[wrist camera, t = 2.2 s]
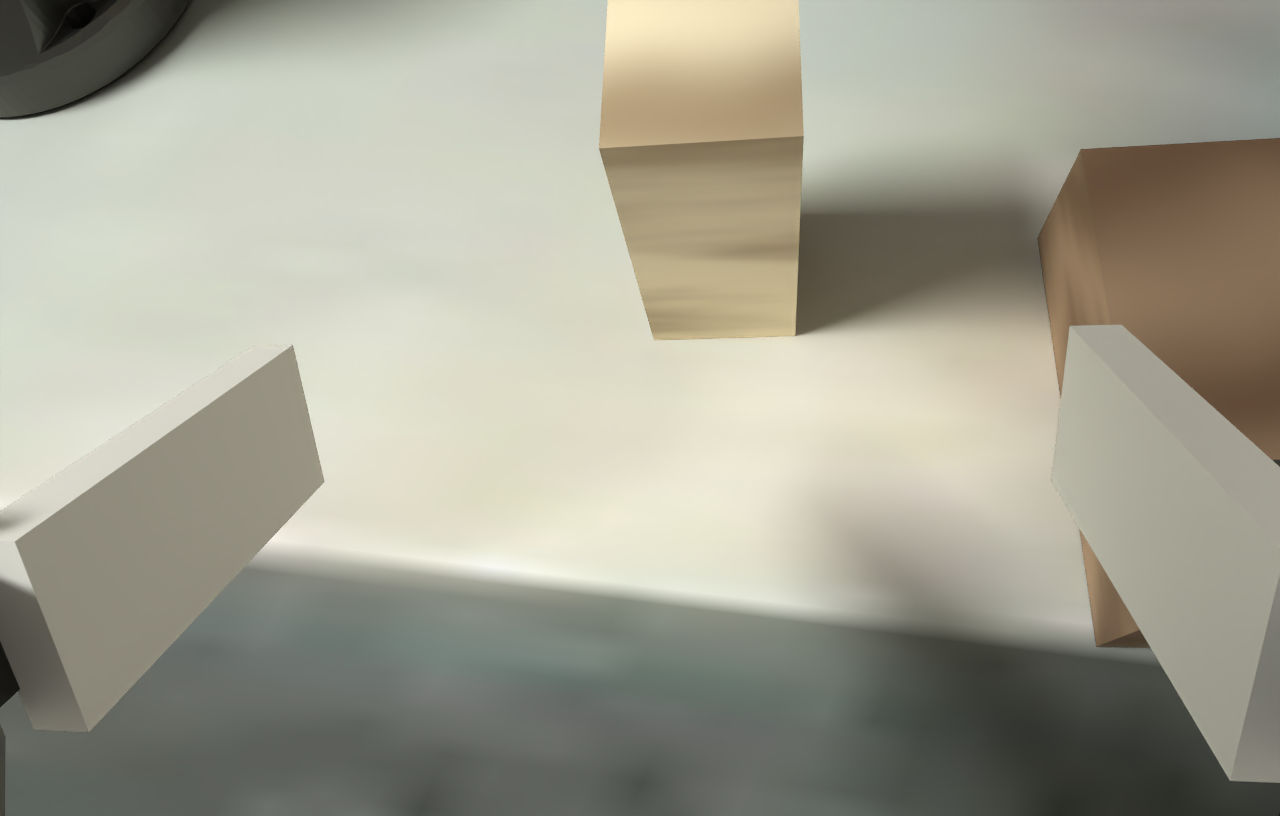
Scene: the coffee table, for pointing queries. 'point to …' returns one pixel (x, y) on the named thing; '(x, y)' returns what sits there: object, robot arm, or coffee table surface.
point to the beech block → (707, 160)
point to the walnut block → (1174, 286)
